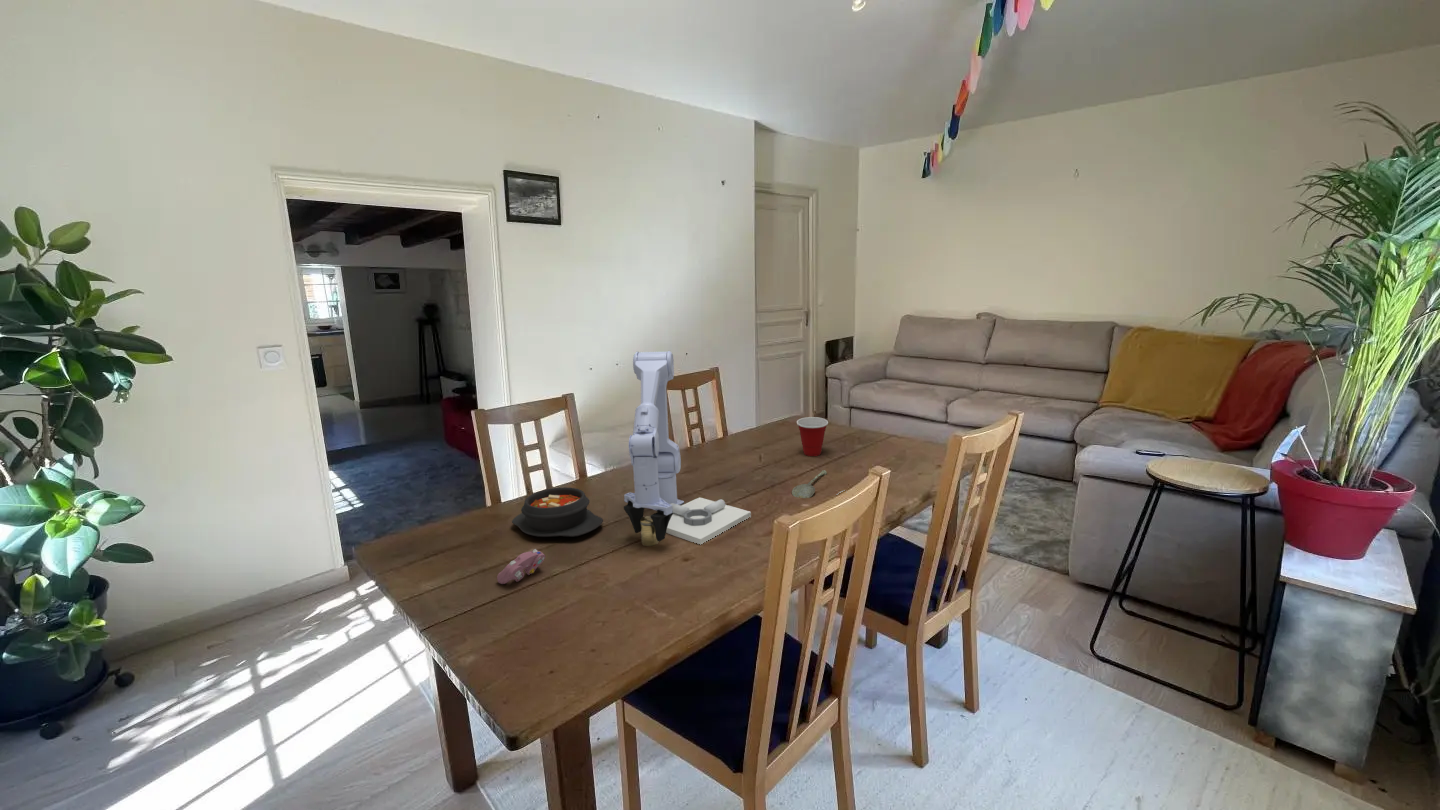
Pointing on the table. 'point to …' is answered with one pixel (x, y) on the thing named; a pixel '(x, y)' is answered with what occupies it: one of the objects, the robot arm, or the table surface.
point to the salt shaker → (648, 531)
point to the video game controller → (521, 566)
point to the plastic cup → (812, 434)
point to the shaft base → (711, 527)
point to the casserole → (557, 514)
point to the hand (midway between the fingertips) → (649, 535)
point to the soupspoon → (806, 488)
